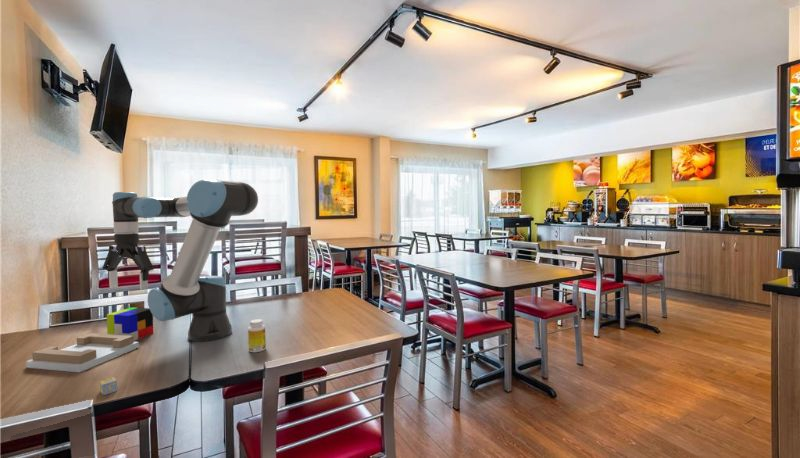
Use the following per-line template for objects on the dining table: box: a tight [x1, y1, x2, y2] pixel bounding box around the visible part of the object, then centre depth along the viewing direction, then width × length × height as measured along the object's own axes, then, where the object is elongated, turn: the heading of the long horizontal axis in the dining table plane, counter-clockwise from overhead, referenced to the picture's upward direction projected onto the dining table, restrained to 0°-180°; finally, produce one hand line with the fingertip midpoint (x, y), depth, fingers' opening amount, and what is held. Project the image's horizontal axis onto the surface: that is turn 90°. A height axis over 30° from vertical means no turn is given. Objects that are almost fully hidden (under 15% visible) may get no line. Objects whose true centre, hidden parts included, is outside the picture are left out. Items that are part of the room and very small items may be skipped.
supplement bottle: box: [247, 318, 267, 353], centre depth 125 cm, size 6×6×10 cm
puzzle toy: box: [106, 306, 154, 342], centre depth 139 cm, size 10×10×10 cm
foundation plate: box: [25, 332, 140, 373], centre depth 120 cm, size 20×20×4 cm
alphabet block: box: [99, 377, 118, 396], centre depth 97 cm, size 3×3×3 cm
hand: (128, 288), depth 138 cm, fingers open, 13 cm apart
